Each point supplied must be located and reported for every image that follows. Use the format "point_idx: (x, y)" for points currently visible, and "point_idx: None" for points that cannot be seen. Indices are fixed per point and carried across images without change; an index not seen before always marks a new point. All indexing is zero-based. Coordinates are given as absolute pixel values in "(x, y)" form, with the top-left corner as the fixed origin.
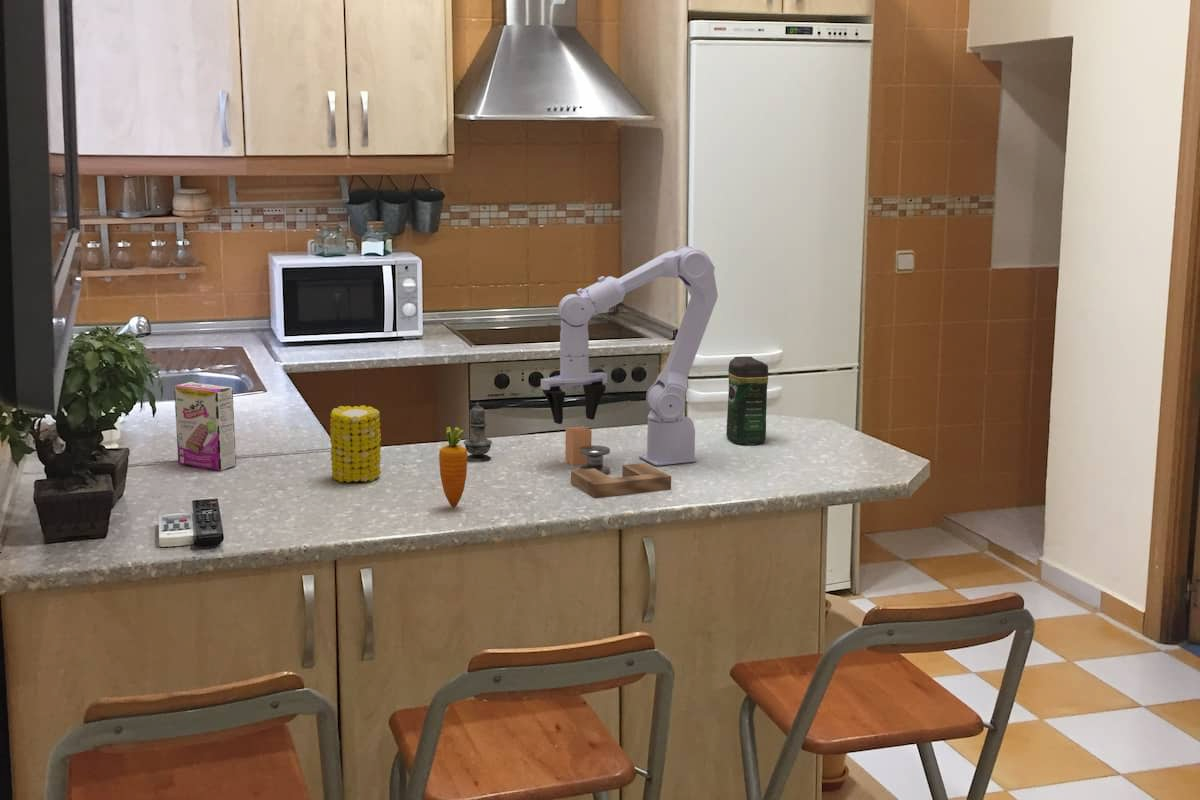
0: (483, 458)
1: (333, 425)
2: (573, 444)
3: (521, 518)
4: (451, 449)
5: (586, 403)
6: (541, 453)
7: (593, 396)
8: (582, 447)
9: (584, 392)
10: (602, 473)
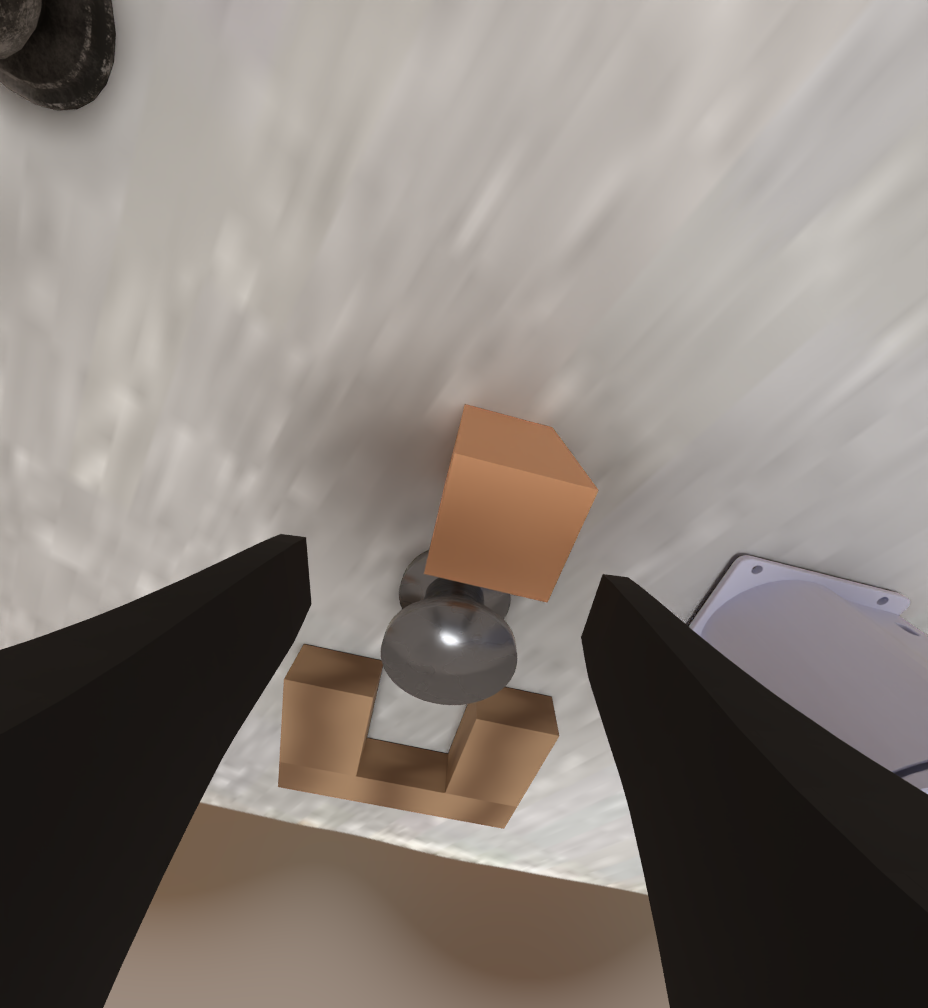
0: (38, 77)
1: None
2: (433, 532)
3: None
4: None
5: (674, 673)
6: (461, 159)
7: (670, 918)
8: (418, 615)
9: (810, 807)
10: (359, 740)
